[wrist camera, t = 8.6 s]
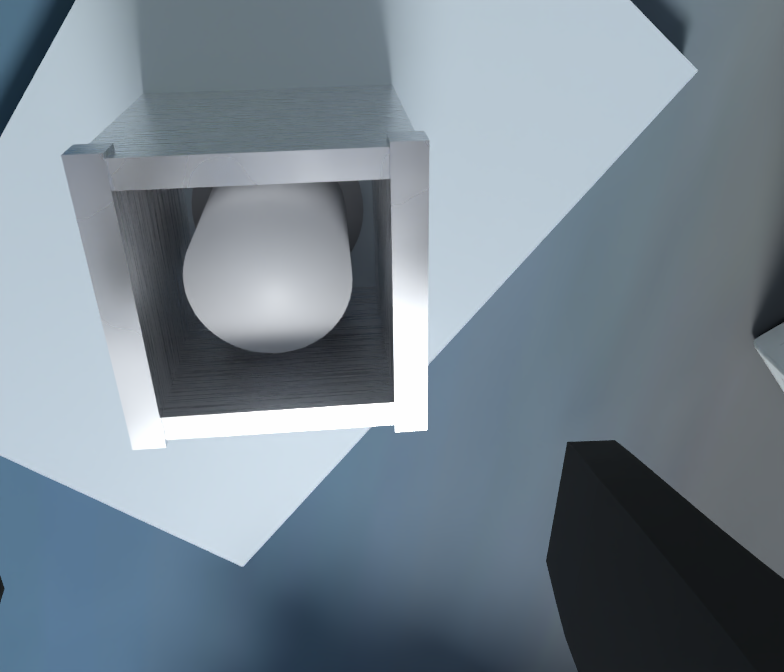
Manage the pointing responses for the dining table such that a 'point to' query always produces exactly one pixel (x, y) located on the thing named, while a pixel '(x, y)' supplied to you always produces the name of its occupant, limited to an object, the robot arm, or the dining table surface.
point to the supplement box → (773, 351)
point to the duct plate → (295, 212)
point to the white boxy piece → (172, 238)
